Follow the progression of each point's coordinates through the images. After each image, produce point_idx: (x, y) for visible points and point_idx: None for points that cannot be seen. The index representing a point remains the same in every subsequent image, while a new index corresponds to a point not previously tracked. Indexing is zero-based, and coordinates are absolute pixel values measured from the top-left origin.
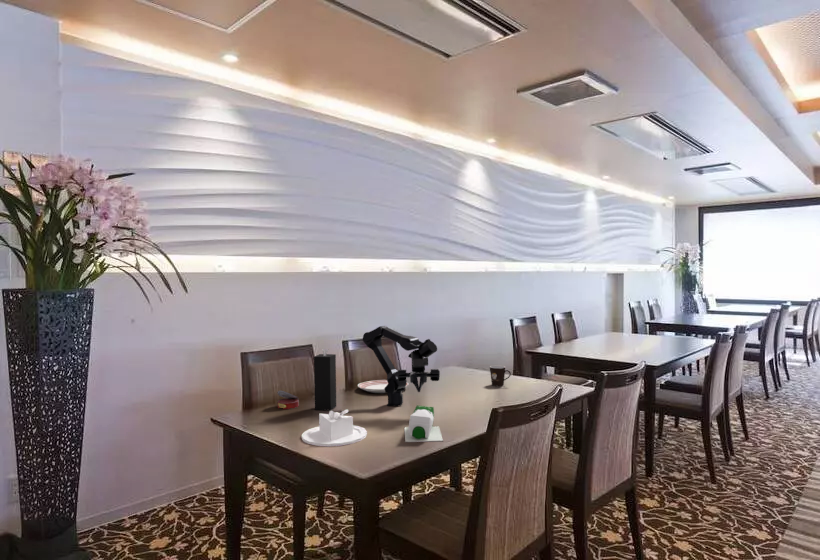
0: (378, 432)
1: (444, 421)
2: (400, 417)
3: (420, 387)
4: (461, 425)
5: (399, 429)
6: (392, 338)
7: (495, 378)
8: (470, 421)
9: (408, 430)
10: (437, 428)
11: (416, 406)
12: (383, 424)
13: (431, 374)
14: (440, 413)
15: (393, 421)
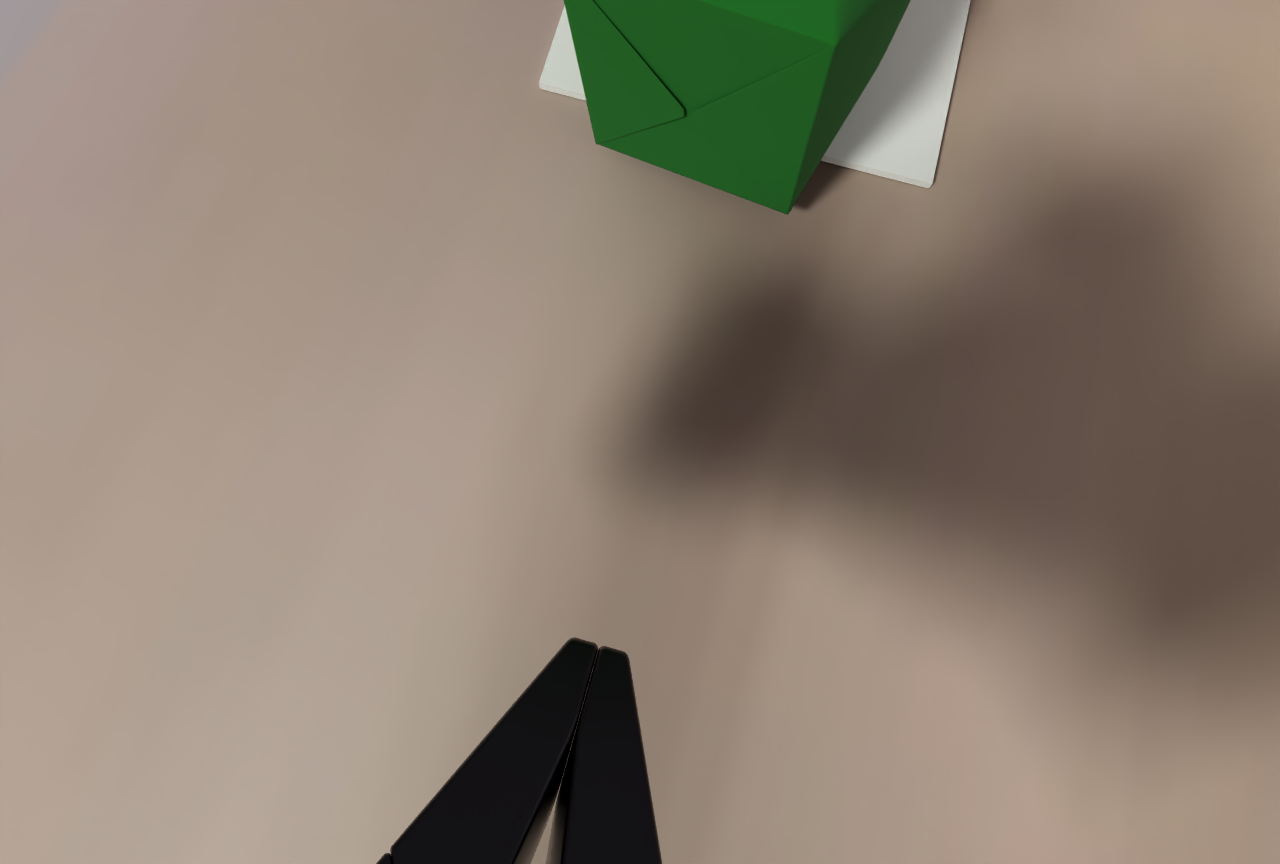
0: (1236, 131)
1: (382, 276)
2: (876, 657)
3: (519, 719)
4: (269, 66)
5: (993, 156)
6: None
7: None
8: (85, 171)
9: (913, 57)
10: None
11: (856, 1)
12: (1149, 406)
13: None
14: (260, 669)
15: (1005, 494)
